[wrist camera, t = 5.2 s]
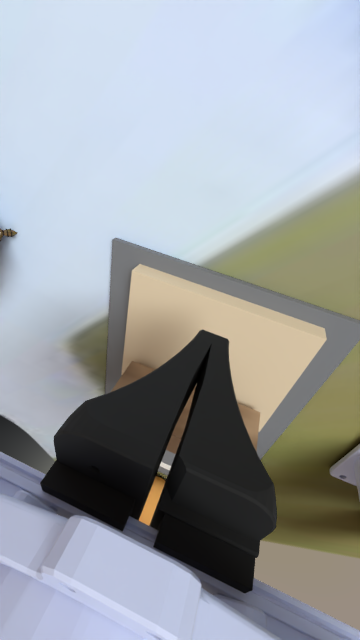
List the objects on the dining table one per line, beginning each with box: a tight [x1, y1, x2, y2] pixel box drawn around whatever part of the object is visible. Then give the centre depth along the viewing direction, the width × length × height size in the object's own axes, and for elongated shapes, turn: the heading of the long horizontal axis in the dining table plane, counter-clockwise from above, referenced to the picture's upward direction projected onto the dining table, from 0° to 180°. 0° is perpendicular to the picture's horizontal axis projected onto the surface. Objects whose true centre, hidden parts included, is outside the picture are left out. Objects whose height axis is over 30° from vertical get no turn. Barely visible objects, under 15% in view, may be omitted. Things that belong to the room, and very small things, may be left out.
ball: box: [139, 476, 166, 526], centre depth 33 cm, size 5×5×5 cm
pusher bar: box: [111, 361, 260, 454], centre depth 19 cm, size 10×2×4 cm, turn 78°
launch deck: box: [105, 238, 360, 475], centre depth 26 cm, size 16×34×2 cm, turn 168°
